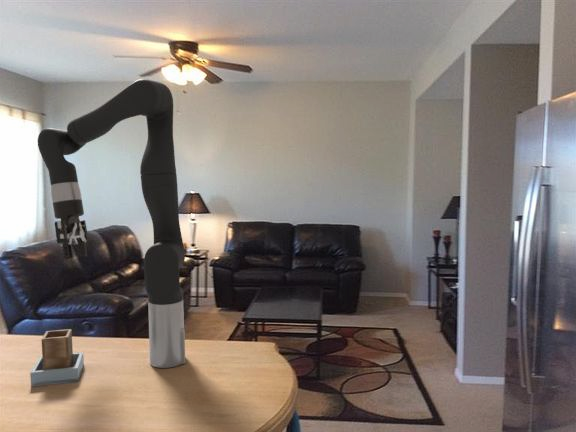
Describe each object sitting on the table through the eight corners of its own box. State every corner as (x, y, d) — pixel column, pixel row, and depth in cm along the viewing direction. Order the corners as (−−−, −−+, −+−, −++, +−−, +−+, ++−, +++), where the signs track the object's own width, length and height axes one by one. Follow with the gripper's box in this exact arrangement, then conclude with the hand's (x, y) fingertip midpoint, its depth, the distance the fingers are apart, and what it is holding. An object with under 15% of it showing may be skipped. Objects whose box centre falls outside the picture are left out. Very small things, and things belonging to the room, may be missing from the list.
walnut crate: (73, 366, 129) (71, 329, 128) (69, 375, 123) (67, 336, 122) (48, 368, 128) (46, 331, 127) (43, 378, 122) (41, 339, 121)
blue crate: (83, 364, 132) (83, 352, 132) (78, 381, 122) (77, 367, 121) (40, 369, 129) (39, 356, 129) (31, 386, 119) (30, 372, 119)
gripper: (68, 197, 130) (78, 257, 130) (90, 199, 144) (99, 253, 144) (40, 201, 130) (50, 262, 130) (65, 203, 144) (74, 257, 144)
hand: (76, 257), depth 137 cm, fingers open, 8 cm apart
